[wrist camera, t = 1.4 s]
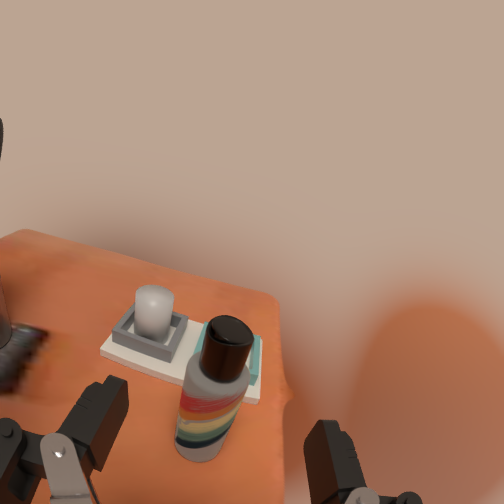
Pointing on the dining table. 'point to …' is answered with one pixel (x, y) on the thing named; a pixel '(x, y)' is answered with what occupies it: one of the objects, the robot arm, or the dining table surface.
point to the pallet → (166, 341)
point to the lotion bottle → (213, 388)
